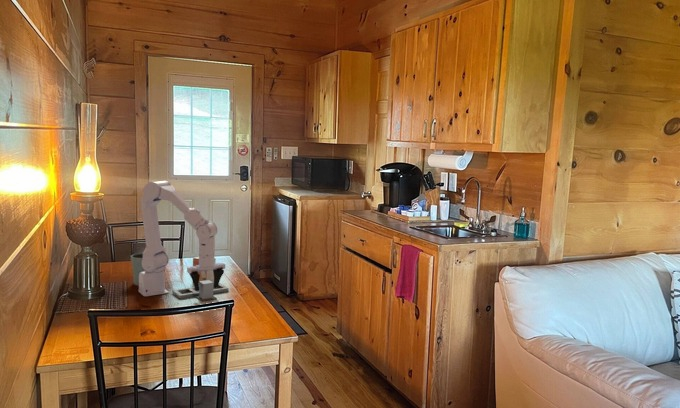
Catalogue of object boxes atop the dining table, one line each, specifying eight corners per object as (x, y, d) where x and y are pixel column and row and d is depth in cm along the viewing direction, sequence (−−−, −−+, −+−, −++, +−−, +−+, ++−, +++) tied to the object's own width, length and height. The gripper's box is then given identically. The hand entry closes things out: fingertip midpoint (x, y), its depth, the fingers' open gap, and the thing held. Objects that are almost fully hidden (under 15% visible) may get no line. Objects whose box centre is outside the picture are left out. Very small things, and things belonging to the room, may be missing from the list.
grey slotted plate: (179, 299, 191) (179, 295, 191) (172, 293, 197) (172, 290, 197) (228, 291, 203) (228, 288, 203) (220, 286, 209) (220, 283, 209)
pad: (201, 301, 189) (201, 300, 189) (195, 297, 194) (195, 296, 194) (216, 299, 193) (216, 298, 193) (210, 295, 197) (210, 294, 197)
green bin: (162, 282, 212) (162, 254, 211) (143, 287, 203) (143, 258, 202) (144, 278, 216) (144, 251, 215) (125, 284, 207) (125, 255, 206)
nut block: (203, 299, 190) (203, 284, 190) (199, 296, 194) (199, 281, 193) (213, 297, 193) (213, 282, 192) (209, 295, 196) (209, 280, 195)
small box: (192, 281, 215) (192, 257, 213) (201, 278, 220) (201, 255, 218) (206, 284, 211) (206, 260, 210) (215, 281, 216) (215, 257, 215)
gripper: (192, 258, 183) (191, 294, 185) (228, 254, 192) (228, 288, 194) (185, 254, 189) (185, 289, 191) (221, 250, 198) (220, 284, 199)
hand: (206, 289), depth 193 cm, fingers open, 7 cm apart
